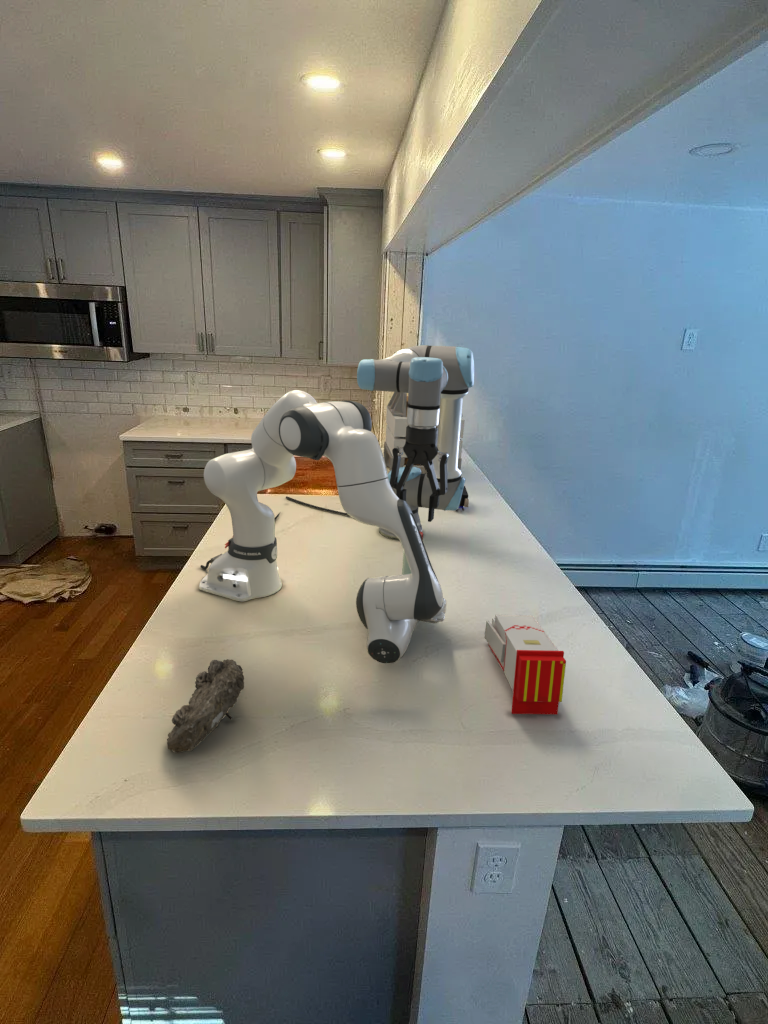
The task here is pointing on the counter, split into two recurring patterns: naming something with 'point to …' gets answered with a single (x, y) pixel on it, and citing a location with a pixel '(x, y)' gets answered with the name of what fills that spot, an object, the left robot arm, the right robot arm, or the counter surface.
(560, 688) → the toy
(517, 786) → the counter surface
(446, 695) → the counter surface
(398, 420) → the white storage crate
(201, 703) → the fossil
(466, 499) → the figurine character
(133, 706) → the counter surface
